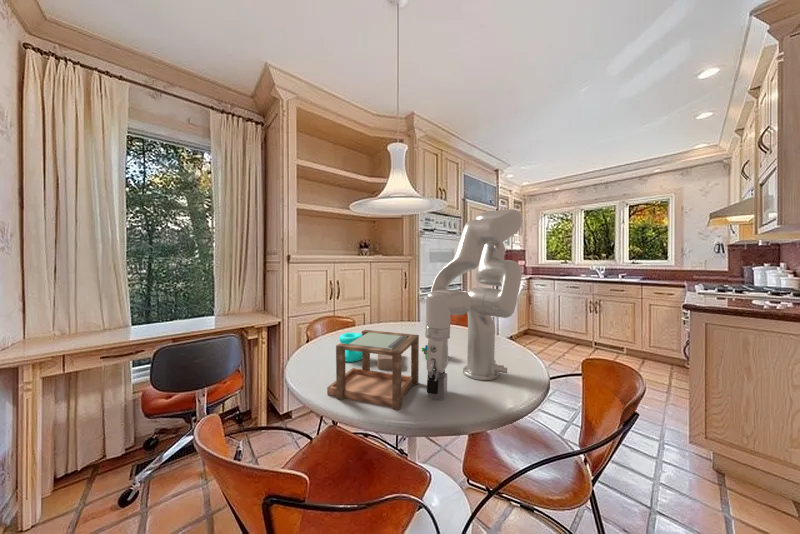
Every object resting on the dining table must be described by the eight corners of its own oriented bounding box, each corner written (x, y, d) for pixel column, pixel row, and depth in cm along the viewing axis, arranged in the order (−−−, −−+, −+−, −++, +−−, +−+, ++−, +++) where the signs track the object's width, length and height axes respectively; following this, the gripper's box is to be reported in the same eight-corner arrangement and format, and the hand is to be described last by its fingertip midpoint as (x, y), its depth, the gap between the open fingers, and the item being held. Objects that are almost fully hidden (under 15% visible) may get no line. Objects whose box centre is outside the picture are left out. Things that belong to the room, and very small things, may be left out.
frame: (418, 382, 108) (418, 335, 107) (398, 410, 89) (399, 353, 88) (354, 373, 116) (354, 328, 115) (324, 396, 97) (324, 344, 96)
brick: (399, 370, 119) (399, 358, 119) (376, 370, 119) (376, 358, 119) (398, 355, 136) (398, 344, 136) (379, 355, 136) (379, 344, 136)
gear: (447, 350, 137) (447, 338, 130) (449, 363, 133) (449, 352, 126) (422, 352, 138) (420, 341, 130) (423, 365, 134) (421, 355, 126)
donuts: (336, 333, 133) (359, 330, 137) (336, 356, 133) (359, 353, 138) (342, 339, 124) (366, 336, 128) (342, 364, 124) (366, 360, 129)
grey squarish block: (447, 393, 100) (447, 373, 100) (443, 400, 95) (444, 379, 95) (431, 390, 102) (431, 371, 101) (427, 397, 97) (427, 377, 97)
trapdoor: (406, 339, 105) (406, 335, 105) (391, 352, 92) (391, 347, 92) (368, 335, 110) (368, 331, 110) (348, 347, 97) (348, 342, 97)
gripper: (443, 340, 88) (442, 401, 88) (454, 327, 104) (453, 378, 105) (418, 337, 90) (416, 396, 91) (432, 325, 107) (431, 375, 107)
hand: (436, 386), depth 98 cm, fingers open, 9 cm apart
